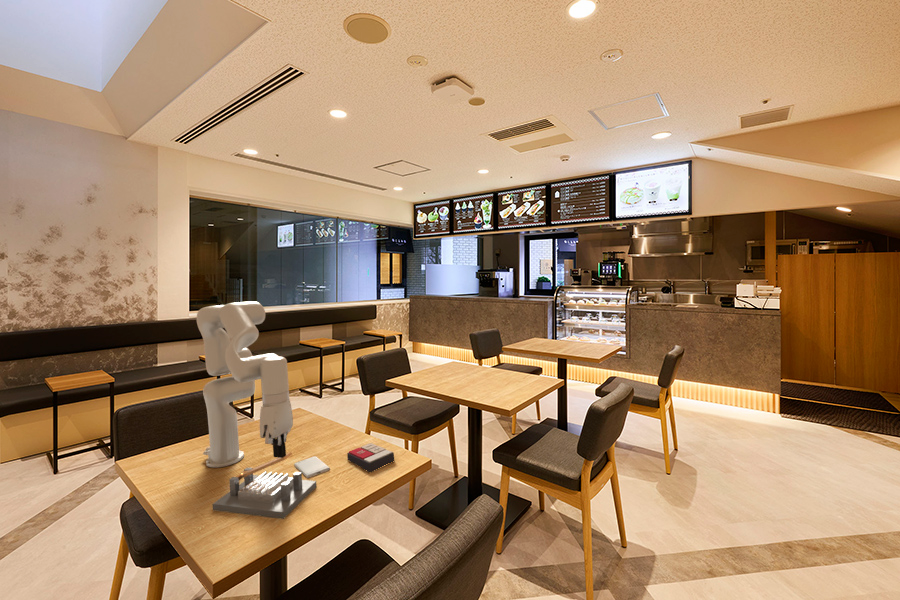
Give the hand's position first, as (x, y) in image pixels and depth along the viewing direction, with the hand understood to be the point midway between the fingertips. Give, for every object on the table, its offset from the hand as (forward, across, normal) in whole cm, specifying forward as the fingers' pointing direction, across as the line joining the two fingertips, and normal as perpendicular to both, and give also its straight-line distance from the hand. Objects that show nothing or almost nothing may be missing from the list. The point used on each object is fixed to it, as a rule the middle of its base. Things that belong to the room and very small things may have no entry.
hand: (279, 456), depth 118 cm
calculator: (+15, -29, +16) cm, 36 cm away
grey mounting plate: (+14, 0, -6) cm, 15 cm away
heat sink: (+12, 0, -6) cm, 13 cm away
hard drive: (+15, -20, -3) cm, 25 cm away
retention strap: (+5, 0, -6) cm, 8 cm away
